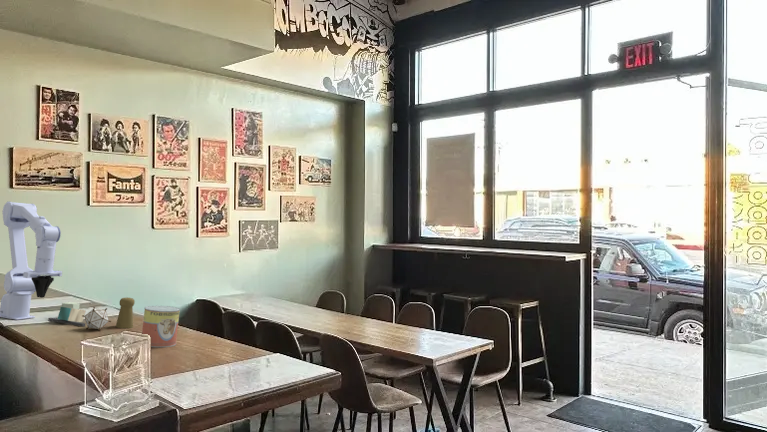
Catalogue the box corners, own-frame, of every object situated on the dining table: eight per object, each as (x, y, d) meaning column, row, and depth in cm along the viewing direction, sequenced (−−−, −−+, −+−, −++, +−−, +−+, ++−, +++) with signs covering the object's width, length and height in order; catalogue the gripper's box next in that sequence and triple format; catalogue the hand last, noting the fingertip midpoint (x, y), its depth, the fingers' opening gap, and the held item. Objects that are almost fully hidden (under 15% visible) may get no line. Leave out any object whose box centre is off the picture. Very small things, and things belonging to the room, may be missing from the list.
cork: (129, 325, 216) (132, 296, 217) (135, 328, 212) (138, 298, 212) (113, 325, 212) (116, 296, 212) (118, 328, 208) (122, 299, 208)
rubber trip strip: (48, 320, 210) (48, 317, 210) (50, 320, 211) (51, 317, 211) (82, 326, 205) (82, 323, 205) (85, 326, 206) (85, 323, 207)
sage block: (60, 318, 216) (61, 303, 216) (66, 317, 220) (68, 301, 220) (71, 319, 216) (73, 304, 216) (78, 318, 220) (79, 302, 220)
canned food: (150, 348, 182) (154, 311, 182) (134, 341, 190) (138, 306, 190) (182, 345, 190) (186, 310, 191) (166, 339, 198) (170, 305, 198)
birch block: (60, 306, 208) (76, 309, 215) (57, 318, 207) (72, 320, 214) (70, 308, 207) (85, 310, 214) (67, 320, 206) (82, 322, 212)
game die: (100, 339, 204) (121, 318, 206) (87, 335, 196) (109, 312, 198) (84, 324, 206) (105, 303, 209) (71, 319, 198) (93, 297, 201)
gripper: (36, 260, 194) (31, 300, 193) (70, 260, 207) (66, 296, 207) (20, 258, 195) (15, 297, 195) (55, 258, 209) (50, 294, 209)
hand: (40, 297), depth 201 cm, fingers closed
